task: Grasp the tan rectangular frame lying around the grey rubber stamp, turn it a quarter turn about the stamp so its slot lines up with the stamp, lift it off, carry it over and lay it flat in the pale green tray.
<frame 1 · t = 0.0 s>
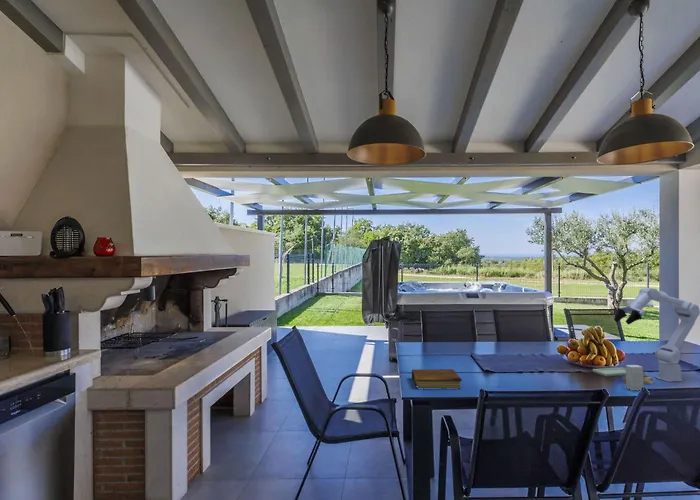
hand: (621, 321, 212), 32 cm above the table, tool tilted 50°, fingers open, 7 cm apart
skincare box: (634, 390, 200), on the table
tray: (614, 373, 228), on the table
diary: (435, 384, 213), on the table
rubber stamp: (643, 382, 211), on the table
tan rectangular frame: (638, 382, 211), on the table
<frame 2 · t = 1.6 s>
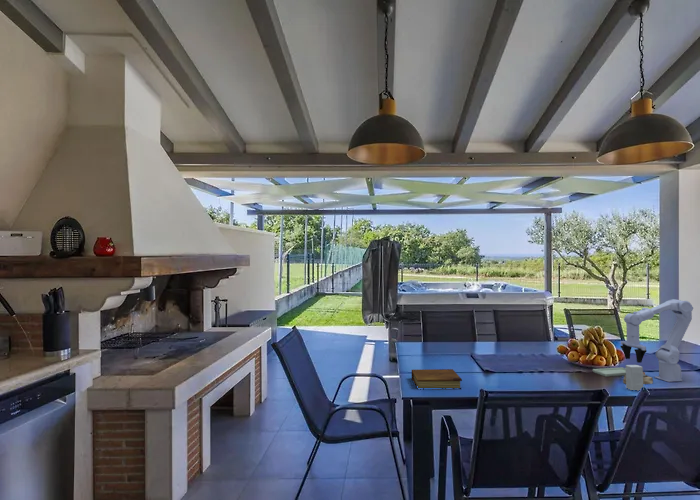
hand: (633, 360, 218), 10 cm above the table, tool pointing down, fingers open, 7 cm apart
nothing on the table moved.
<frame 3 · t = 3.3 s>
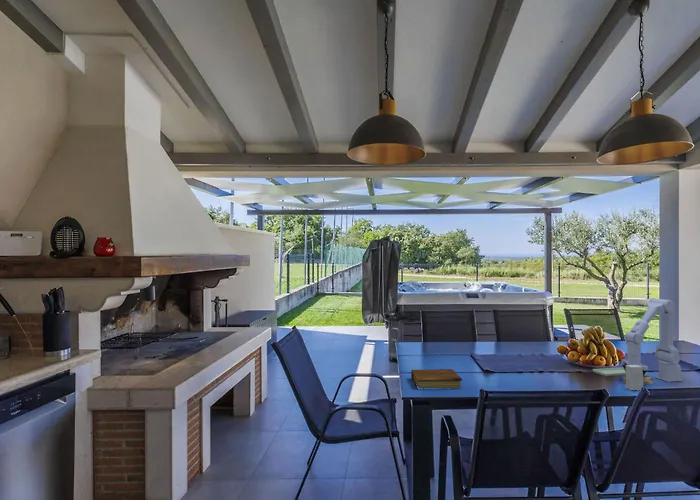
hand: (634, 380, 210), 1 cm above the table, tool pointing down, fingers closed on tan rectangular frame, 5 cm apart
tan rectangular frame: (638, 382, 211), on the table, touching gripper
everything else where it was.
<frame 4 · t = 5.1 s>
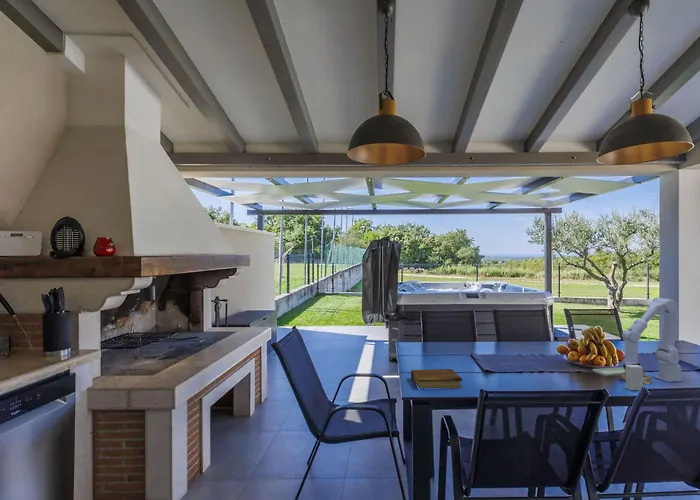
hand: (631, 377, 215), 1 cm above the table, tool pointing down, fingers closed on tan rectangular frame, 5 cm apart
tan rectangular frame: (636, 381, 213), on the table, touching gripper
everything else where it was.
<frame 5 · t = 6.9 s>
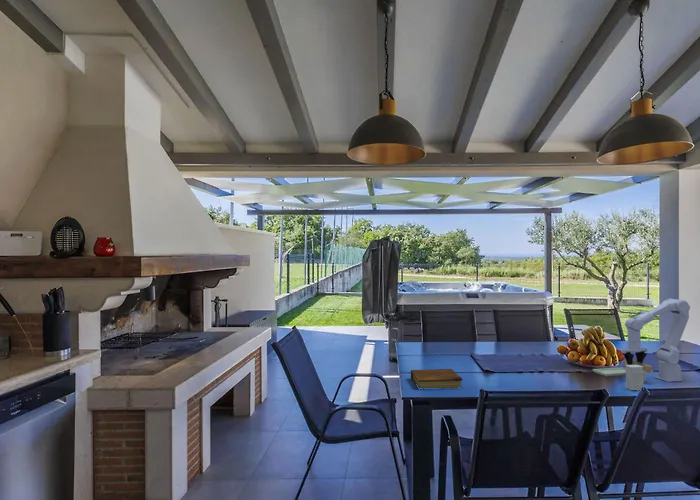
hand: (634, 365, 216), 7 cm above the table, tool pointing down, fingers closed on tan rectangular frame, 5 cm apart
tan rectangular frame: (638, 369, 214), point 6 cm above the table, touching gripper
everything else where it was.
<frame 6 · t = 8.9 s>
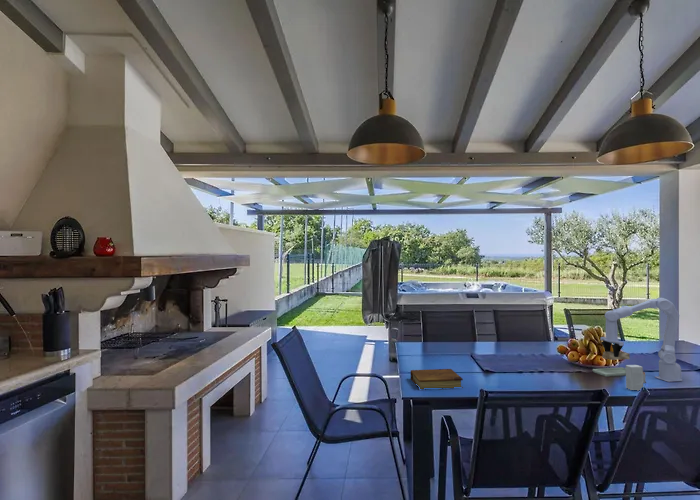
hand: (612, 355, 228), 10 cm above the table, tool pointing down, fingers closed on tan rectangular frame, 5 cm apart
tan rectangular frame: (616, 358, 228), point 9 cm above the table, touching gripper
everything else where it was.
when the fingers open (3 cm above the table, at t = 10.6 s): tan rectangular frame drops 1 cm, resting on tray.
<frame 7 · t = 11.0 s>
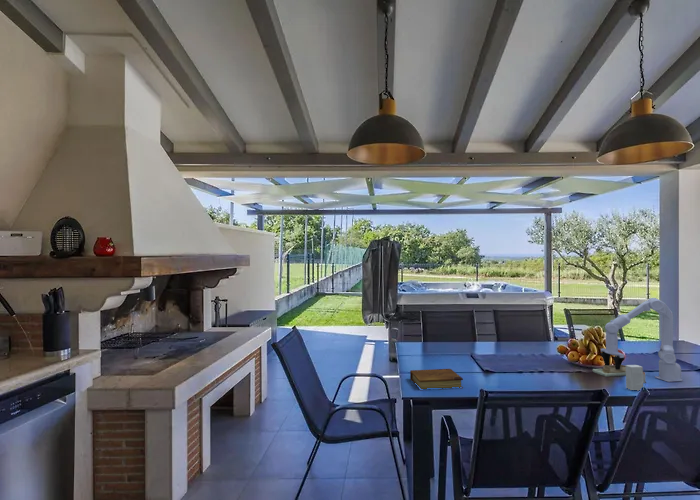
hand: (612, 367, 228), 3 cm above the table, tool pointing down, fingers open, 7 cm apart
tan rectangular frame: (616, 372, 228), point 1 cm above the table, touching tray
everything else where it was.
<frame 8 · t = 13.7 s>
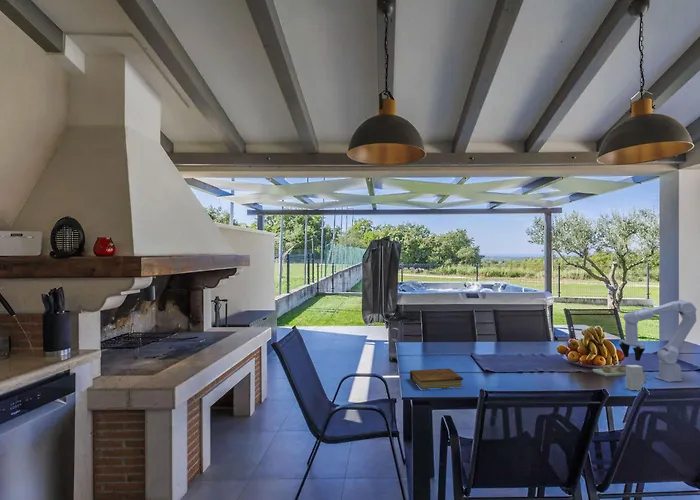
hand: (631, 358, 222), 10 cm above the table, tool pointing down, fingers open, 7 cm apart
at the end: tan rectangular frame inside the target area on the tray (1.0 cm from its centre), point 0.6 cm above the tray's base; tan rectangular frame tilted 0°; the gripper is holding nothing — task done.
